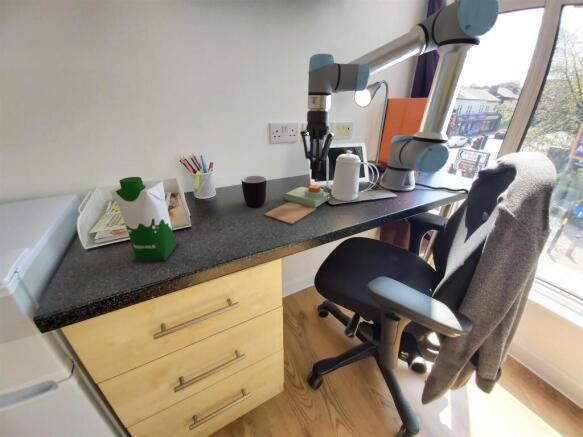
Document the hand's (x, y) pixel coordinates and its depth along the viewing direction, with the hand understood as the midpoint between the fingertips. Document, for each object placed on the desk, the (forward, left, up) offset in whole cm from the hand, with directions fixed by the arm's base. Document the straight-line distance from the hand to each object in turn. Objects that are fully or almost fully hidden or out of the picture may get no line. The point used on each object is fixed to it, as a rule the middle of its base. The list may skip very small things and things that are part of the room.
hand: (314, 178), depth 89 cm
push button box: (+3, 0, -9) cm, 10 cm away
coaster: (+1, +14, -9) cm, 17 cm away
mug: (+17, +16, -10) cm, 25 cm away
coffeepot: (-7, -12, -10) cm, 17 cm away
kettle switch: (0, 0, -5) cm, 5 cm away
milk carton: (+13, +55, -10) cm, 57 cm away
